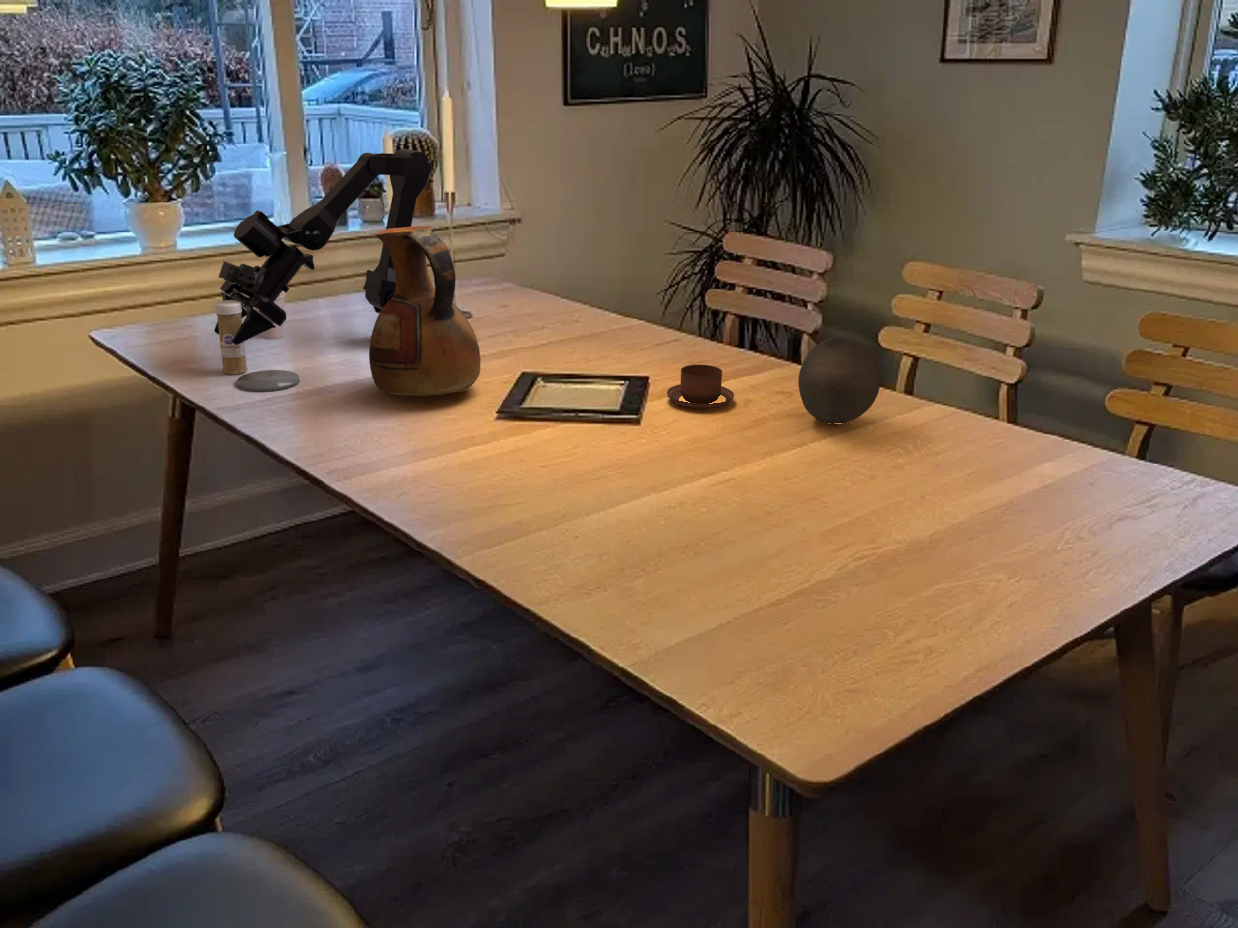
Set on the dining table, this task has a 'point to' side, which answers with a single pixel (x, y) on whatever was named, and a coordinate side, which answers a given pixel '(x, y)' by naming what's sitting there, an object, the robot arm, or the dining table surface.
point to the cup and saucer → (700, 387)
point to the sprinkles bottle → (230, 336)
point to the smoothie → (277, 331)
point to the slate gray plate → (268, 380)
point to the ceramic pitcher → (422, 322)
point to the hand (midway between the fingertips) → (224, 338)
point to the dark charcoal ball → (839, 380)
